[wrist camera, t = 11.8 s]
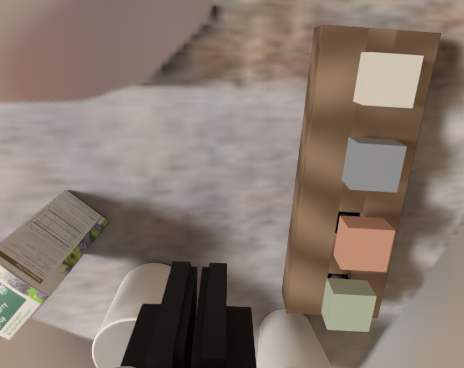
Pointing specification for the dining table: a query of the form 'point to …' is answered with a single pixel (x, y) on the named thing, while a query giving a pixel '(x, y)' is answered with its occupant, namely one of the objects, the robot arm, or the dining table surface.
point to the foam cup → (289, 343)
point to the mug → (128, 312)
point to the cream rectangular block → (387, 79)
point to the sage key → (347, 304)
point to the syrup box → (42, 257)
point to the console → (334, 152)
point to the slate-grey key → (373, 164)
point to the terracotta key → (363, 243)
